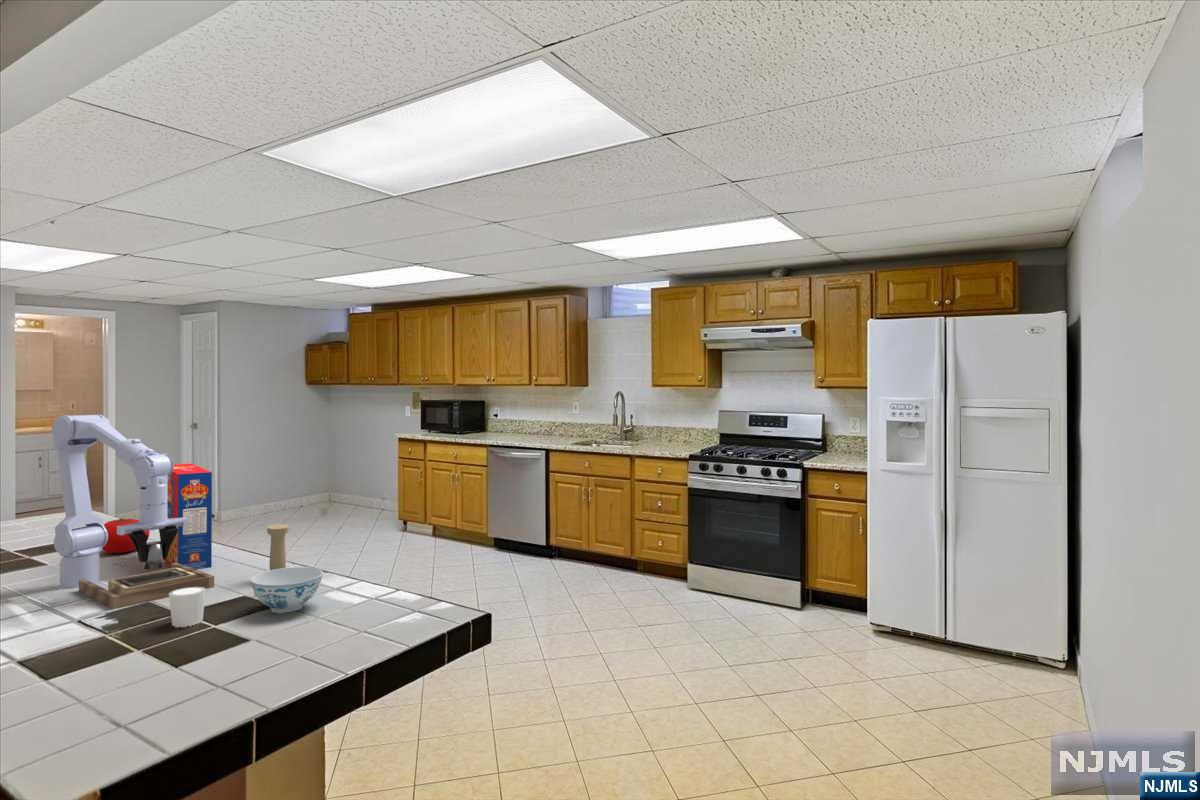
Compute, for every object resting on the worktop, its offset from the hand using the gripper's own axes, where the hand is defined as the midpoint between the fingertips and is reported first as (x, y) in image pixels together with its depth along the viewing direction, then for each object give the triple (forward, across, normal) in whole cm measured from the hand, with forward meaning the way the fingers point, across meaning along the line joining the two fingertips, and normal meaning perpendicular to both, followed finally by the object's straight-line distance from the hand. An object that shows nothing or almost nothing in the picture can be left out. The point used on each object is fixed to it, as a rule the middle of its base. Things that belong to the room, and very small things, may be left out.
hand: (153, 559), depth 161 cm
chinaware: (+9, +15, -34) cm, 38 cm away
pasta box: (+9, +18, +27) cm, 34 cm away
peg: (+2, 0, 0) cm, 2 cm away
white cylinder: (+9, -3, -26) cm, 28 cm away
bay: (+9, 0, +4) cm, 10 cm away
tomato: (+9, +13, +58) cm, 60 cm away
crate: (+8, 0, 0) cm, 8 cm away
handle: (+9, +24, -13) cm, 29 cm away
